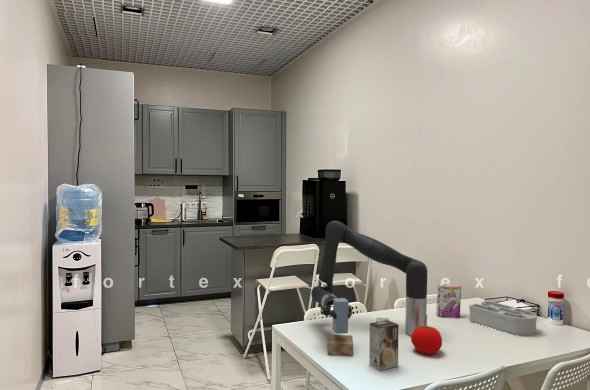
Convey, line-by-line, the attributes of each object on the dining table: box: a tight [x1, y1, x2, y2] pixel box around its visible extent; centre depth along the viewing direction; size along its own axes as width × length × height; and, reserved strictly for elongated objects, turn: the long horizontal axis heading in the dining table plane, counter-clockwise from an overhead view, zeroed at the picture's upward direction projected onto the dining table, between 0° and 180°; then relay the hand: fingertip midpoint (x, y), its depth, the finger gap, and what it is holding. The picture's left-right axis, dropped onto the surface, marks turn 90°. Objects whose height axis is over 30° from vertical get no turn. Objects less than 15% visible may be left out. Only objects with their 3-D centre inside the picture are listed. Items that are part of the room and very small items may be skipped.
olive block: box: [375, 317, 390, 322], centre depth 173 cm, size 5×5×13 cm
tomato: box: [410, 325, 443, 355], centre depth 173 cm, size 11×12×10 cm
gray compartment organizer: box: [468, 300, 538, 337], centre depth 205 cm, size 17×28×9 cm, turn 35°
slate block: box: [332, 297, 350, 335], centre depth 173 cm, size 5×5×13 cm
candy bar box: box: [436, 283, 462, 318], centre depth 220 cm, size 11×5×16 cm, turn 84°
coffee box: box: [368, 319, 399, 372], centre depth 159 cm, size 9×6×16 cm
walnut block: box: [327, 334, 354, 357], centre depth 173 cm, size 10×10×5 cm
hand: (342, 316), depth 170 cm, fingers closed on slate block, 5 cm apart
